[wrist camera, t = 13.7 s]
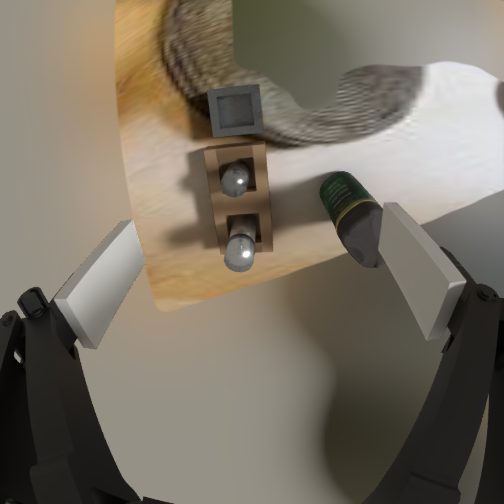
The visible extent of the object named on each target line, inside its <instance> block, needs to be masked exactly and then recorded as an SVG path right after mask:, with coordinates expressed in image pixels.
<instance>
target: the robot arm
mask: <svg viewBox="0 0 504 504" xmlns="http://www.w3.org/2000/svg"><path fill="white" fill-rule="evenodd" d="M378 250H379V252H380V254H381V255H382V257H383V259H384V260H385V262H386V264H387V265H388V267H389V269H390V271H391V272H392V274H393V276H394V278H395V280H396V281H397V283H398V285H399V287H400V289H401V291H402V292H403V294H404V296H405V298H406V300H407V302H408V304H409V306H410V308H411V310H412V312H413V314H414V316H415V318H416V320H417V322H418V324H419V326H420V328H421V330H422V332H423V334H424V337H425V339H426V341H427V340H432V339H437V338H441V337H442V336H443V334H444V332H445V330H446V328H447V326H448V328H449V330H450V332H451V335H450V337H449V339H448V341H447V342H446V344H445V346H444V348H443V350H442V353H444V354H443V357H442V359H441V362H440V365H439V368H438V371H437V373H436V376H435V378H434V381H433V384H432V386H431V388H430V391H429V394H428V396H427V398H426V400H425V403H424V405H423V407H422V409H421V412H420V413H419V415H418V418H417V420H416V422H415V424H414V426H413V427H412V429H411V432H410V433H409V435H408V437H407V439H406V441H405V443H404V444H403V446H402V448H401V450H400V451H399V453H398V455H397V457H396V458H395V460H394V462H393V463H392V465H391V466H390V468H389V469H388V471H387V472H386V474H385V475H384V477H383V478H382V480H381V481H380V483H379V485H378V486H377V487H376V488H375V490H374V491H373V492H372V493H371V494H370V495H369V496H368V497H367V498H366V499H365V500H364V501H363V502H362V504H458V503H459V501H460V495H461V493H460V491H459V489H458V483H459V480H460V478H461V475H462V473H463V471H464V469H465V466H466V464H467V461H468V459H469V456H470V454H471V451H472V448H473V446H474V443H475V440H476V437H477V433H478V431H479V427H480V424H481V421H482V417H483V413H484V410H485V406H486V402H487V398H488V394H489V413H488V428H487V440H486V448H485V455H484V462H483V468H482V473H481V478H480V483H479V487H478V492H477V496H476V500H475V503H474V504H504V298H499V296H498V294H497V293H496V292H495V291H494V290H493V289H492V288H491V287H489V286H487V285H484V284H476V283H475V281H474V280H473V279H472V278H471V276H470V275H469V274H468V272H467V271H466V270H465V269H464V267H462V265H461V264H460V263H459V262H458V261H457V259H456V258H455V257H454V256H453V255H452V254H451V252H449V251H448V250H446V249H445V248H443V247H438V245H437V244H436V243H435V242H434V241H433V240H432V239H431V238H430V237H429V235H428V234H427V233H426V232H425V231H424V230H423V229H422V228H421V227H420V226H419V225H418V224H417V222H416V221H415V220H414V219H413V218H412V217H411V216H410V215H409V214H408V213H407V212H406V211H405V210H404V209H403V208H402V207H401V206H400V205H399V204H398V203H384V206H383V215H382V224H381V232H380V240H379V247H378ZM145 263H146V261H145V258H144V255H143V252H142V249H141V246H140V243H139V239H138V236H137V233H136V230H135V226H134V223H133V220H127V221H121V222H120V223H119V224H118V225H117V226H116V227H115V228H114V229H113V230H112V231H111V232H110V233H109V234H108V235H107V236H106V238H105V239H104V240H103V241H102V242H101V243H100V244H99V245H98V246H97V247H96V248H95V249H94V251H93V252H92V253H91V254H90V255H89V256H88V257H87V258H86V260H85V261H84V262H83V263H82V264H81V265H80V267H79V268H78V269H77V270H76V271H75V272H74V273H73V274H72V275H71V276H70V278H69V279H68V280H67V282H65V284H64V285H63V287H61V289H60V290H59V291H58V292H57V294H56V295H55V296H54V298H53V299H52V300H51V301H50V303H48V301H47V299H46V298H45V296H44V294H43V292H42V290H41V289H40V288H39V287H33V288H31V289H29V290H27V291H26V292H25V293H23V294H22V295H21V296H20V298H19V299H18V302H17V303H18V305H19V307H20V308H21V310H22V311H23V313H24V315H25V316H26V318H22V319H21V318H20V316H19V315H18V313H17V312H16V311H15V310H13V311H9V312H6V313H5V314H4V315H3V316H2V318H1V319H0V504H173V503H168V502H164V501H159V500H155V499H151V498H147V497H143V501H141V499H140V498H139V496H138V495H137V494H136V492H135V491H134V490H133V489H132V488H131V487H130V486H129V485H128V484H127V483H126V481H125V480H124V479H123V477H122V475H121V473H120V471H119V469H118V467H117V465H116V463H115V461H114V458H113V456H112V454H111V452H110V449H109V447H108V445H107V442H106V440H105V438H104V435H103V432H102V430H101V427H100V424H99V422H98V419H97V416H96V413H95V410H94V407H93V404H92V401H91V398H90V395H89V391H88V388H87V385H86V381H85V377H84V374H83V370H82V366H81V362H80V358H79V353H78V349H77V347H76V346H75V345H74V343H75V341H76V339H77V338H78V340H79V341H80V343H81V344H82V346H83V347H84V348H90V349H97V347H98V345H99V344H100V342H101V340H102V338H103V336H104V334H105V332H106V330H107V328H108V327H109V325H110V323H111V321H112V319H113V318H114V316H115V314H116V312H117V310H118V309H119V306H120V305H121V303H122V302H123V300H124V298H125V296H126V295H127V293H128V291H129V290H130V288H131V286H132V285H133V283H134V281H135V280H136V278H137V276H138V275H139V273H140V271H141V270H142V268H143V266H144V265H145ZM14 352H16V353H17V354H18V356H19V357H20V358H21V362H20V363H19V362H18V361H17V360H16V359H15V357H14Z"/></svg>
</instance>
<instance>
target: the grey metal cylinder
mask: <svg viewBox="0 0 504 504" xmlns="http://www.w3.org/2000/svg"><path fill="white" fill-rule="evenodd" d="M256 224H257V221H256V218H255V216H254V215H253V214H237V215H236V216H235V217H234V220H233V224H232V228H231V232H230V236H229V239H228V241H227V244H226V252H225V256H224V262H225V264H226V266H227V267H228V268H229V269H230V270H232V271H235V272H244V271H247V270H249V269H250V268H251V267H252V265H253V260H254V254H255V247H256V246H255V236H256Z"/></svg>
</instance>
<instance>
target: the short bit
mask: <svg viewBox="0 0 504 504" xmlns="http://www.w3.org/2000/svg"><path fill="white" fill-rule="evenodd" d="M249 176H250V168H249V166H248V165H247V164H246V163H245V162H243V161H234V162H232V163H231V164H230V165H229V167H228V169H227V171H226V172H225V174H224V176H223V178H222V180H221V189H222V191H223V193H224V194H226V195H227V196H229V197H239V196H241V195H243V194H244V193H245V191H246V189H247V185H248V180H249Z"/></svg>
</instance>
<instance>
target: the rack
mask: <svg viewBox="0 0 504 504" xmlns="http://www.w3.org/2000/svg"><path fill="white" fill-rule="evenodd" d="M204 157H205V164H206V170H207V177H208V183H209V189H210V195H211V201H212V207H213V213H214V219H215V225H216V231H217V236H218V242H219V248H220V253H221V254H225V252H226V244H227V241H228V239H229V236H230V232H231V228H232V224H233V220H234V217H235V216H236V215H237V214H253V215H254V216H255V218H256V221H257V224H256V236H255V246H256V247H255V252H273V235H272V221H271V208H270V195H269V183H268V171H267V159H266V148H265V141H255V142H243V143H233V144H224V145H216V146H208V147H207V148H206V149H205V150H204ZM234 161H243V162H245V163H246V164H247V165H248V166H249V168H250V176H249V180H248V185H247V189H246V191H245V193H244V194H243V195H241V196H239V197H229V196H227V195H226V194H224V193H223V191H222V189H221V180H222V178H223V176H224V174H225V172H226V171H227V169H228V167H229V165H230V164H231V163H232V162H234Z"/></svg>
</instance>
